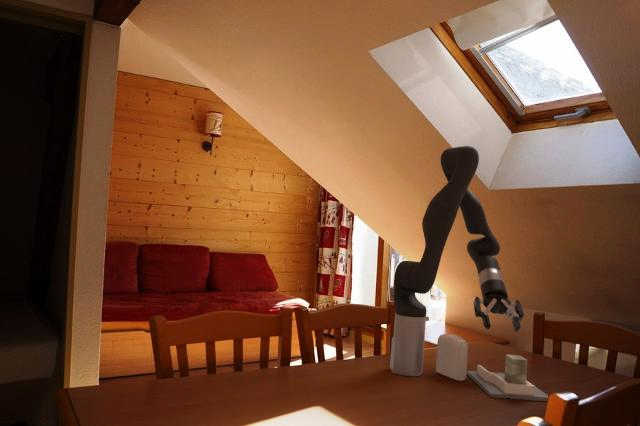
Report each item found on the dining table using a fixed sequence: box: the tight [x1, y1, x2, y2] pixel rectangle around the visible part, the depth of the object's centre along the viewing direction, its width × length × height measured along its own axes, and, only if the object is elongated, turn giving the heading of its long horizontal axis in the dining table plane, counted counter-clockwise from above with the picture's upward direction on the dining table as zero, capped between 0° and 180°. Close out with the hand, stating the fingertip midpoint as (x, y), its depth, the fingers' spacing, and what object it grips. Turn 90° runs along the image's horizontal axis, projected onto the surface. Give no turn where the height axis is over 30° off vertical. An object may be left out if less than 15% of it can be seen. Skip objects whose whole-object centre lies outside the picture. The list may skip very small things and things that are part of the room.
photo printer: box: [435, 333, 469, 382], centre depth 157 cm, size 10×4×12 cm, turn 29°
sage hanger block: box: [504, 354, 529, 384], centre depth 144 cm, size 4×5×9 cm
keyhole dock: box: [466, 364, 549, 402], centre depth 150 cm, size 16×22×4 cm
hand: (503, 329), depth 156 cm, fingers open, 8 cm apart
